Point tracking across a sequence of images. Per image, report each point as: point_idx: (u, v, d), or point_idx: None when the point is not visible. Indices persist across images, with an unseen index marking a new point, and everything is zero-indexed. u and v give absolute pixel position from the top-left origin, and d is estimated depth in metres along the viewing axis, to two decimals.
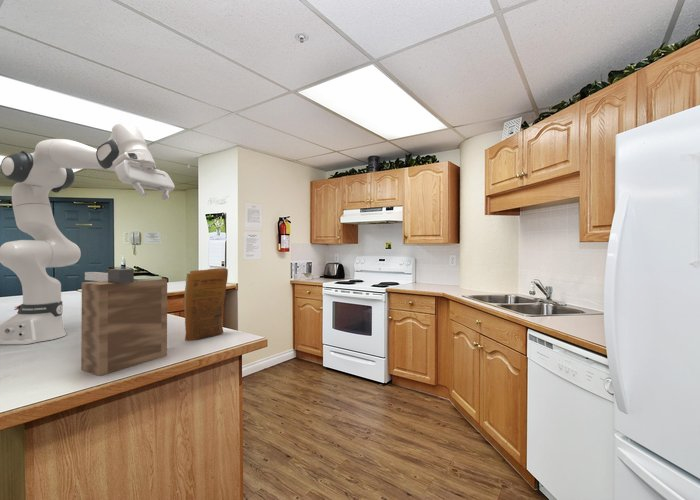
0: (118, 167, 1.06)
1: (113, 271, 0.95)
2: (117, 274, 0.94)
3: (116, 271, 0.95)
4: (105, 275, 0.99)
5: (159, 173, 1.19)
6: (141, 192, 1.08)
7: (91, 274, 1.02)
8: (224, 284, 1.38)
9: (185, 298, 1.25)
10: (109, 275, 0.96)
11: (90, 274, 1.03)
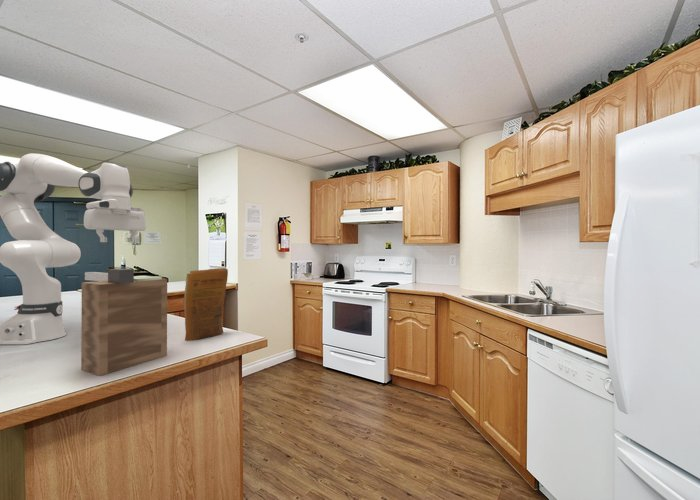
0: (86, 213, 1.14)
1: (113, 271, 0.95)
2: (117, 274, 0.94)
3: (116, 271, 0.95)
4: (105, 275, 0.99)
5: (132, 215, 1.26)
6: (101, 239, 1.17)
7: (91, 274, 1.02)
8: (224, 284, 1.38)
9: (185, 298, 1.25)
10: (109, 275, 0.96)
11: (90, 274, 1.03)
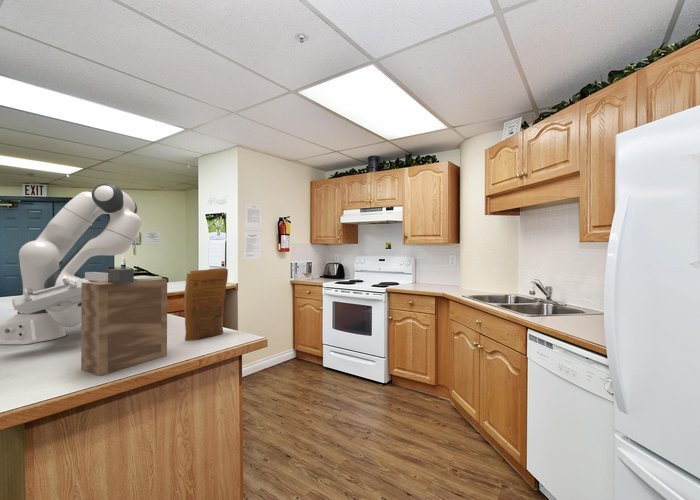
0: None
1: (113, 271, 0.95)
2: (117, 274, 0.94)
3: (116, 271, 0.95)
4: (105, 275, 0.99)
5: (40, 308, 1.10)
6: (69, 280, 1.10)
7: (91, 274, 1.02)
8: (224, 284, 1.38)
9: (185, 298, 1.25)
10: (109, 275, 0.96)
11: (90, 274, 1.03)
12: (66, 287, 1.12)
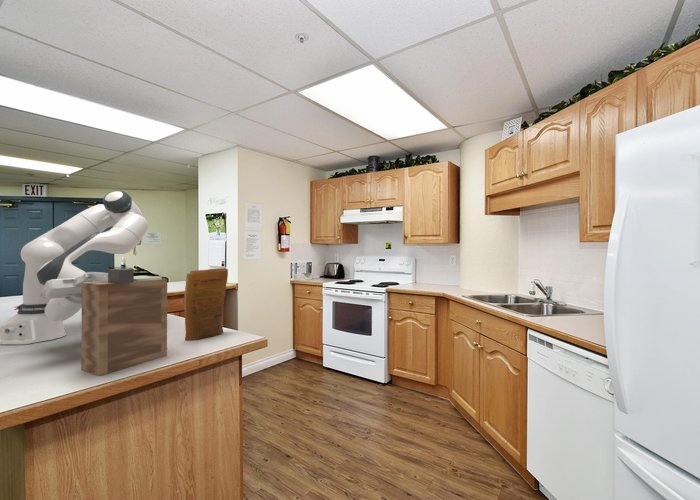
0: None
1: (113, 271, 0.95)
2: (117, 274, 0.94)
3: (116, 271, 0.95)
4: (105, 275, 0.99)
5: (64, 295, 1.03)
6: None
7: (91, 274, 1.02)
8: (224, 284, 1.38)
9: (185, 298, 1.25)
10: (109, 275, 0.96)
11: None
12: None
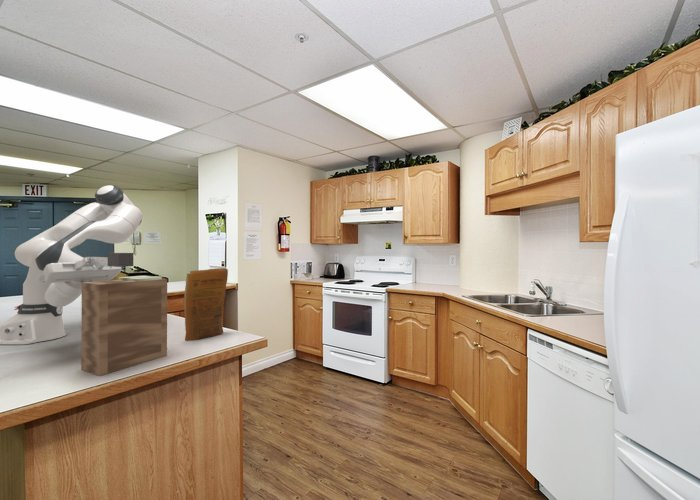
0: None
1: (113, 254, 0.95)
2: (117, 257, 0.94)
3: (116, 254, 0.95)
4: (105, 259, 0.99)
5: (64, 280, 1.03)
6: None
7: (91, 258, 1.02)
8: (224, 284, 1.38)
9: (185, 298, 1.25)
10: (109, 259, 0.96)
11: (90, 258, 1.03)
12: None
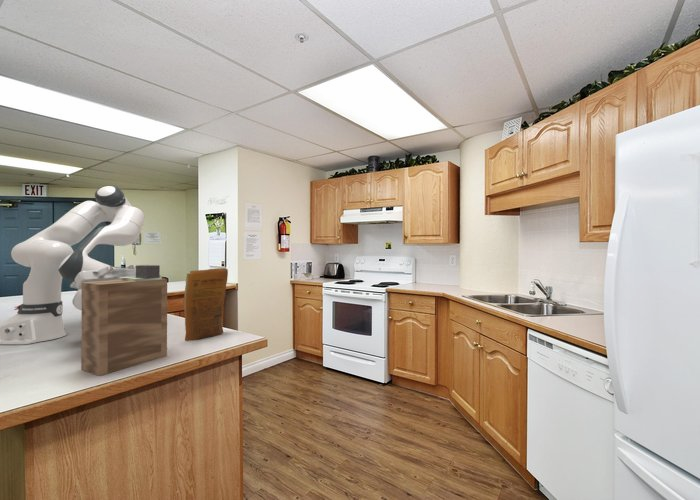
0: None
1: (141, 267, 1.03)
2: (145, 269, 1.02)
3: (144, 267, 1.02)
4: (133, 271, 1.06)
5: None
6: None
7: (119, 270, 1.10)
8: (224, 284, 1.38)
9: (185, 298, 1.25)
10: (137, 271, 1.03)
11: (117, 270, 1.10)
12: None
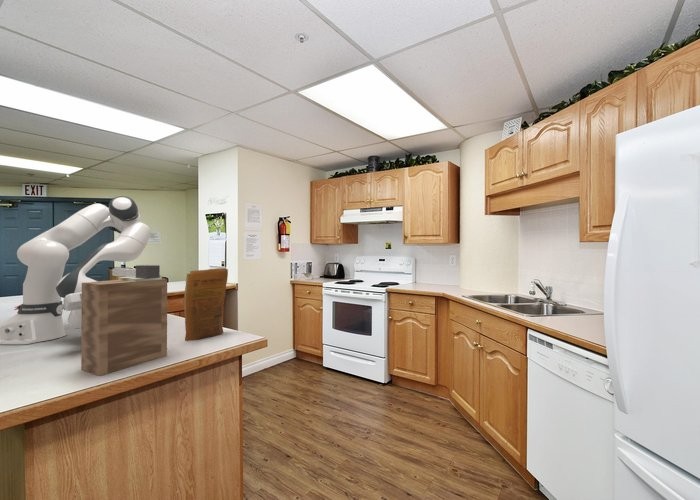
0: None
1: (141, 267, 1.03)
2: (145, 269, 1.02)
3: (144, 267, 1.02)
4: (133, 271, 1.06)
5: None
6: None
7: (119, 270, 1.10)
8: (224, 284, 1.38)
9: (185, 298, 1.25)
10: (137, 271, 1.03)
11: (117, 270, 1.10)
12: None
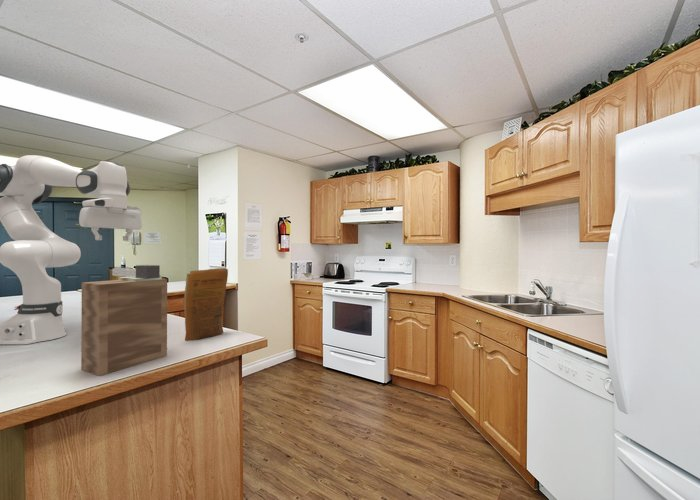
0: (82, 211, 1.14)
1: (141, 267, 1.03)
2: (145, 269, 1.02)
3: (144, 267, 1.02)
4: (133, 271, 1.06)
5: (129, 214, 1.26)
6: (96, 237, 1.18)
7: (119, 270, 1.10)
8: (224, 284, 1.38)
9: (185, 298, 1.25)
10: (137, 271, 1.03)
11: (117, 270, 1.10)
12: None
